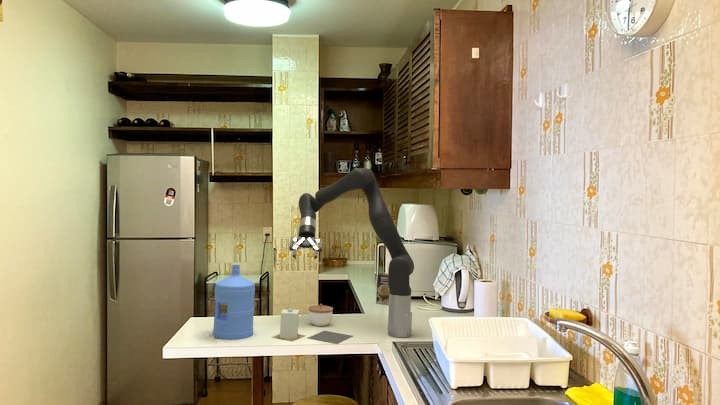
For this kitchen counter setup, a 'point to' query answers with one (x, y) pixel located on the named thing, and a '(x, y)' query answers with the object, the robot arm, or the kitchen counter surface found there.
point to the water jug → (234, 306)
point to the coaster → (289, 339)
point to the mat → (330, 337)
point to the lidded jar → (320, 315)
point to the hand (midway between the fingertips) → (304, 257)
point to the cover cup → (289, 324)
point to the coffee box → (382, 289)
